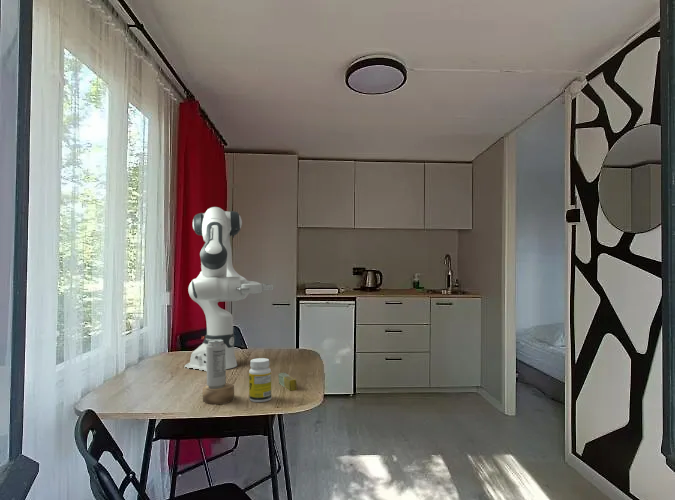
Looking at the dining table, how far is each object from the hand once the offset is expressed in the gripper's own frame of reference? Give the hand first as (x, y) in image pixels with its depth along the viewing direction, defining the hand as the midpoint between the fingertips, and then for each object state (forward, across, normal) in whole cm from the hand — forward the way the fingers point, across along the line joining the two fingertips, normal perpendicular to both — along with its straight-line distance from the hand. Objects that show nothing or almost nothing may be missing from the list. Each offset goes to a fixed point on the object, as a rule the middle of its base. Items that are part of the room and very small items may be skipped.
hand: (272, 286), depth 185 cm
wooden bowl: (-20, -25, +35) cm, 48 cm away
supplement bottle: (-7, -29, +35) cm, 47 cm away
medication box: (+3, -16, +36) cm, 39 cm away
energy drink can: (-21, -26, +31) cm, 46 cm away
